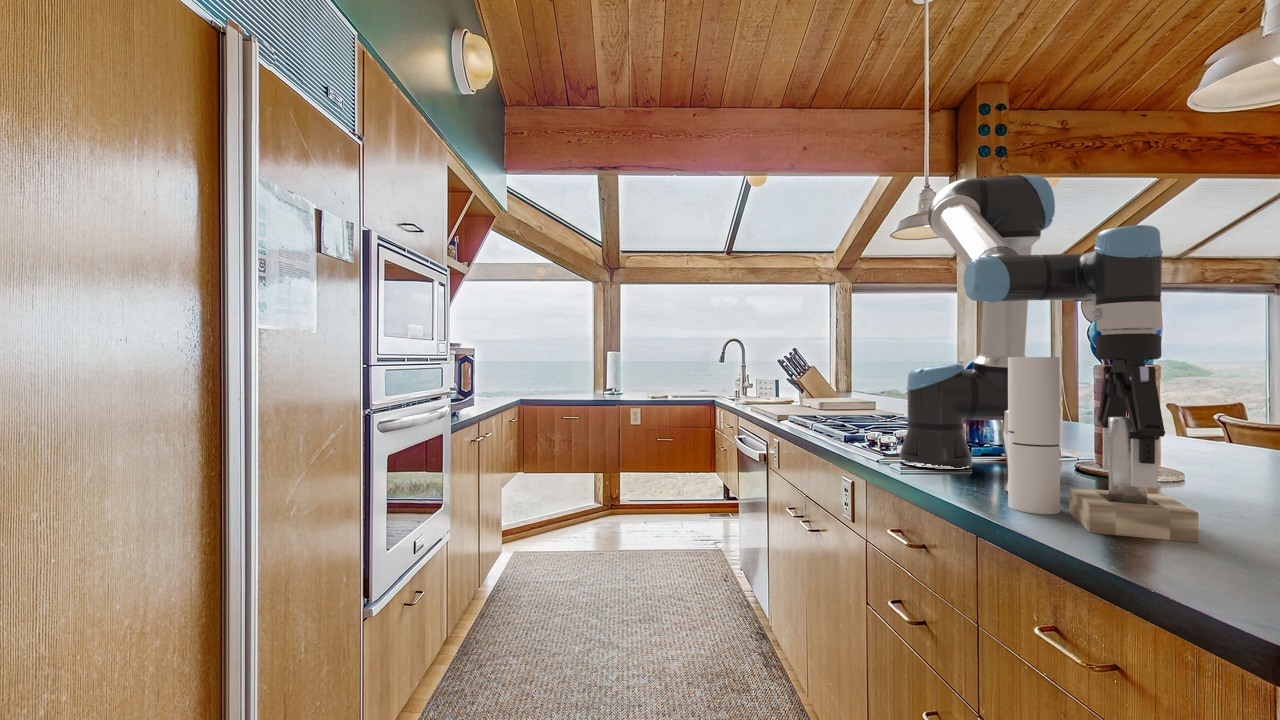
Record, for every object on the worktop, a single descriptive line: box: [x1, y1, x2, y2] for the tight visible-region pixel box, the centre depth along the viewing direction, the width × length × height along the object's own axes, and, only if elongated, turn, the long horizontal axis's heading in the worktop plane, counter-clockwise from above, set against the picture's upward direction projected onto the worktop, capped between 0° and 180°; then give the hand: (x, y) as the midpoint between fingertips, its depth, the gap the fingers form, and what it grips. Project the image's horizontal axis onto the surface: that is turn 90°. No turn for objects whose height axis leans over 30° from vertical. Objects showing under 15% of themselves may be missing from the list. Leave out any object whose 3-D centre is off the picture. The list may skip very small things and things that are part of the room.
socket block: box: [1068, 487, 1199, 543], centre depth 89 cm, size 12×12×4 cm
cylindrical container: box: [1007, 356, 1061, 515], centre depth 100 cm, size 7×7×25 cm
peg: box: [1108, 416, 1148, 505], centre depth 89 cm, size 4×4×16 cm
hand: (1128, 478), depth 89 cm, fingers open, 13 cm apart
